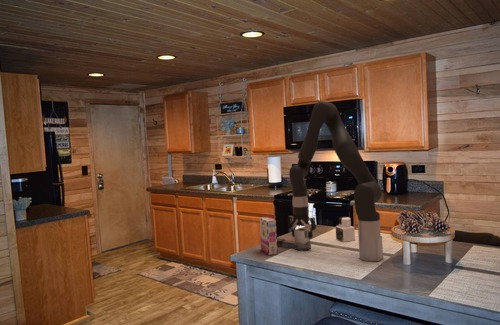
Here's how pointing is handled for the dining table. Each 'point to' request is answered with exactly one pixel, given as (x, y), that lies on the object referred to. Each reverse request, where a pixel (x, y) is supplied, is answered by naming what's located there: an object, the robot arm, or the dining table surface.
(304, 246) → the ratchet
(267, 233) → the candy bar box
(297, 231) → the socket
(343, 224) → the medicine bottle
